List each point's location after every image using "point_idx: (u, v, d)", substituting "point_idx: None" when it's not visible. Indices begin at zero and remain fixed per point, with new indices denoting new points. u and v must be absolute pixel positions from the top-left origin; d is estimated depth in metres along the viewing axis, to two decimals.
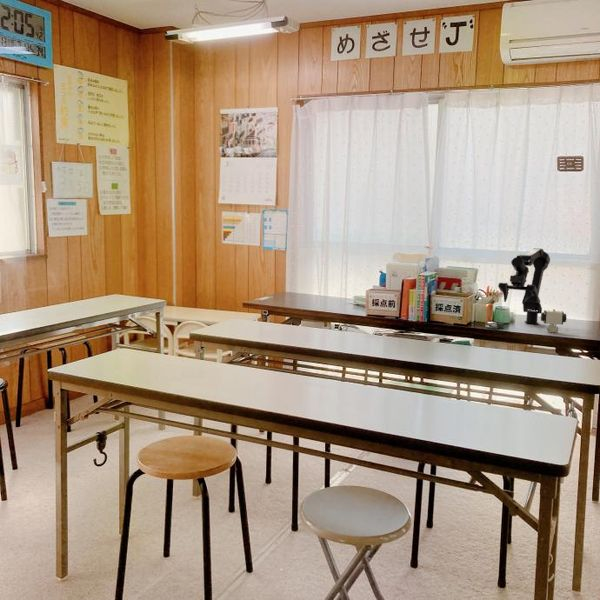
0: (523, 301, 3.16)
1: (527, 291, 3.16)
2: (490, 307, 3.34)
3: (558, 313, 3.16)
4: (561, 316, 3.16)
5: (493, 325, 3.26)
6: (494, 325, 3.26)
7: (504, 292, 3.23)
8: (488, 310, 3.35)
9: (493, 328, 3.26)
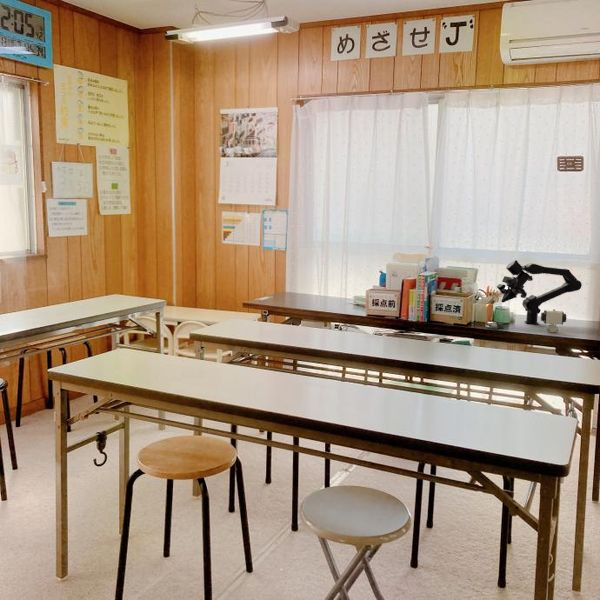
0: (503, 300, 3.38)
1: (509, 291, 3.37)
2: (490, 307, 3.34)
3: (558, 313, 3.16)
4: (561, 316, 3.16)
5: (493, 325, 3.26)
6: (494, 325, 3.26)
7: (504, 293, 3.40)
8: (488, 310, 3.35)
9: (493, 328, 3.26)
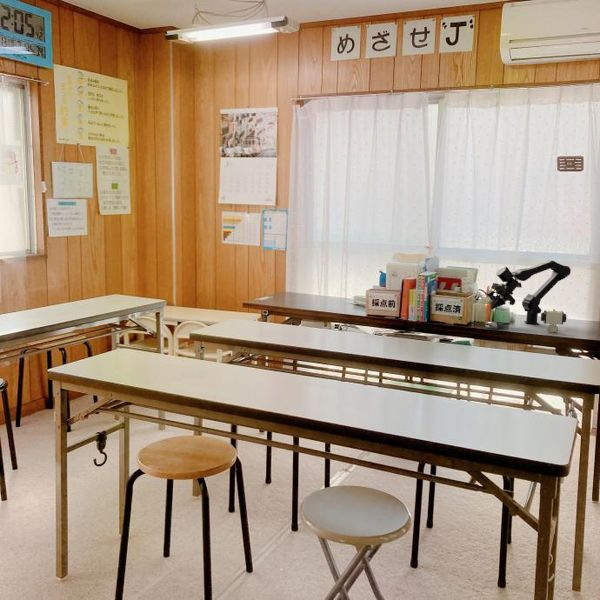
0: None
1: (497, 298, 3.35)
2: (489, 307, 3.34)
3: (558, 313, 3.16)
4: (561, 316, 3.16)
5: (493, 325, 3.26)
6: (494, 325, 3.26)
7: (493, 300, 3.38)
8: (487, 310, 3.35)
9: (493, 328, 3.26)
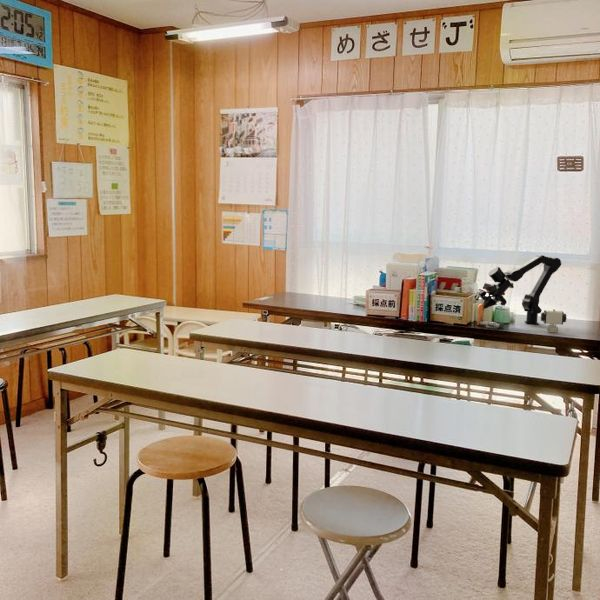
0: None
1: (488, 298, 3.34)
2: (483, 307, 3.33)
3: (558, 313, 3.16)
4: (561, 316, 3.16)
5: (497, 325, 3.27)
6: (498, 325, 3.27)
7: (485, 300, 3.37)
8: (482, 310, 3.33)
9: (493, 328, 3.26)
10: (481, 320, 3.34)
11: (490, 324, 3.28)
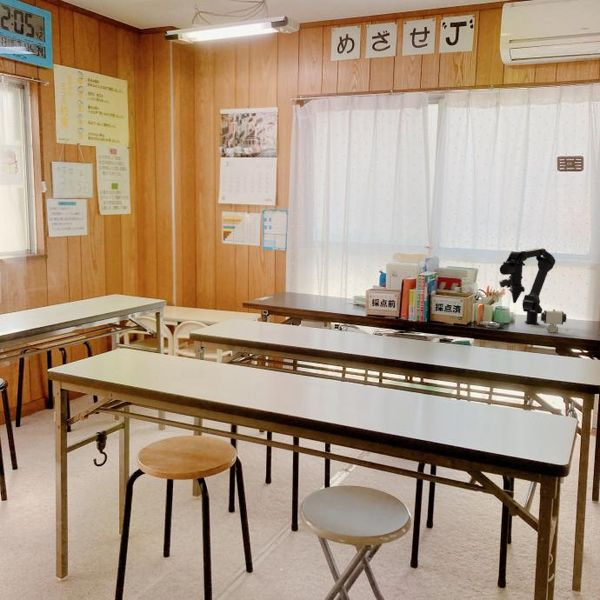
0: (513, 301, 3.34)
1: (511, 292, 3.33)
2: (483, 307, 3.33)
3: (558, 313, 3.16)
4: (561, 316, 3.16)
5: (497, 325, 3.27)
6: (498, 325, 3.27)
7: None
8: (482, 310, 3.33)
9: (493, 328, 3.26)
10: (481, 320, 3.34)
11: (490, 324, 3.28)
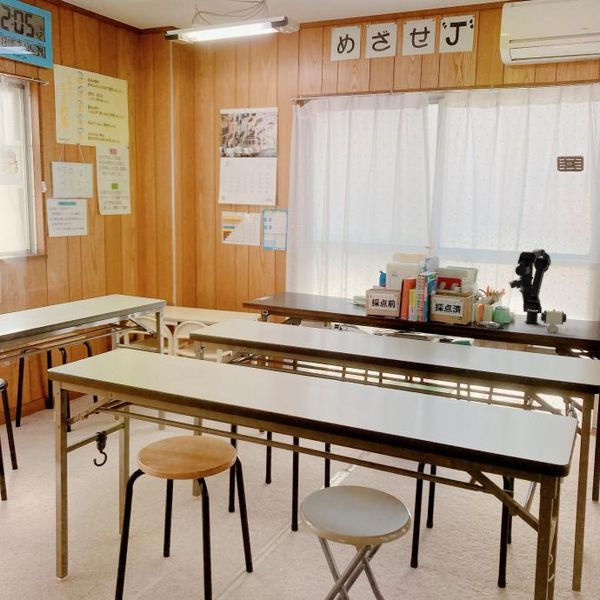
0: (523, 302, 3.32)
1: (521, 292, 3.30)
2: (483, 307, 3.33)
3: (558, 313, 3.16)
4: (561, 316, 3.16)
5: (497, 325, 3.27)
6: (498, 325, 3.27)
7: (522, 294, 3.33)
8: (482, 310, 3.33)
9: (493, 328, 3.26)
10: (481, 320, 3.34)
11: (490, 324, 3.28)
